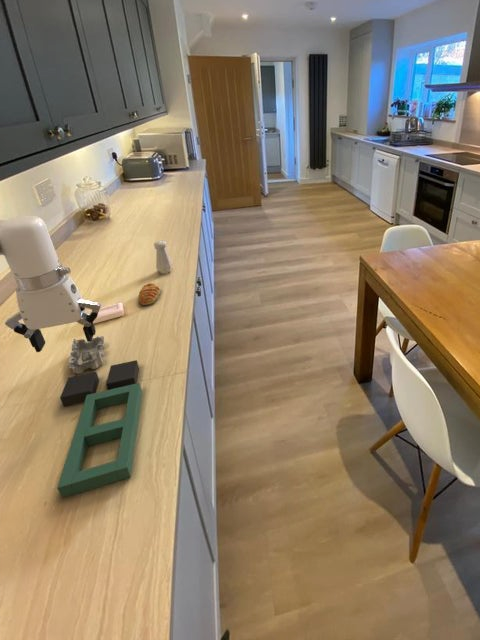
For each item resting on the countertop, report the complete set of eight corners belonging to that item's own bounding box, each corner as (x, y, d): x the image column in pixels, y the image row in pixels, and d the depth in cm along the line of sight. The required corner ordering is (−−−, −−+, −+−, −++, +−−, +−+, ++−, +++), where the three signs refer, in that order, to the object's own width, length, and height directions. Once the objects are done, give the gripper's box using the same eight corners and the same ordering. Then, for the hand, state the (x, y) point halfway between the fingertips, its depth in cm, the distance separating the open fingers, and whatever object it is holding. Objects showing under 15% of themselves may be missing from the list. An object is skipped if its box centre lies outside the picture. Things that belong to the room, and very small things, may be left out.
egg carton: (77, 349, 90) (73, 338, 88) (107, 342, 93) (104, 330, 91) (69, 377, 81) (64, 365, 79) (103, 368, 84) (99, 356, 82)
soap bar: (124, 316, 104) (122, 309, 103) (91, 325, 99) (89, 318, 98) (123, 307, 108) (121, 301, 107) (91, 315, 104) (89, 309, 103)
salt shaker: (159, 276, 126) (153, 246, 121) (155, 270, 130) (149, 241, 125) (174, 272, 129) (169, 242, 124) (170, 266, 134) (165, 237, 128)
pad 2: (108, 393, 77) (105, 384, 76) (113, 374, 82) (110, 365, 81) (136, 386, 79) (133, 377, 77) (139, 368, 84) (136, 359, 83)
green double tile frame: (62, 498, 57) (56, 488, 56) (90, 404, 74) (86, 394, 73) (130, 477, 60) (127, 467, 59) (142, 391, 77) (139, 382, 76)
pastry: (158, 304, 109) (156, 295, 108) (136, 308, 108) (134, 298, 106) (161, 290, 118) (159, 281, 116) (141, 293, 116) (138, 283, 114)
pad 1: (63, 407, 73) (59, 397, 72) (71, 386, 79) (68, 377, 77) (93, 400, 75) (90, 390, 74) (99, 380, 80) (96, 371, 79)
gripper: (93, 261, 71) (112, 323, 78) (-3, 275, 66) (27, 340, 73) (84, 278, 64) (106, 344, 72) (-23, 295, 59) (12, 364, 67)
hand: (66, 342), depth 72 cm, fingers open, 9 cm apart
